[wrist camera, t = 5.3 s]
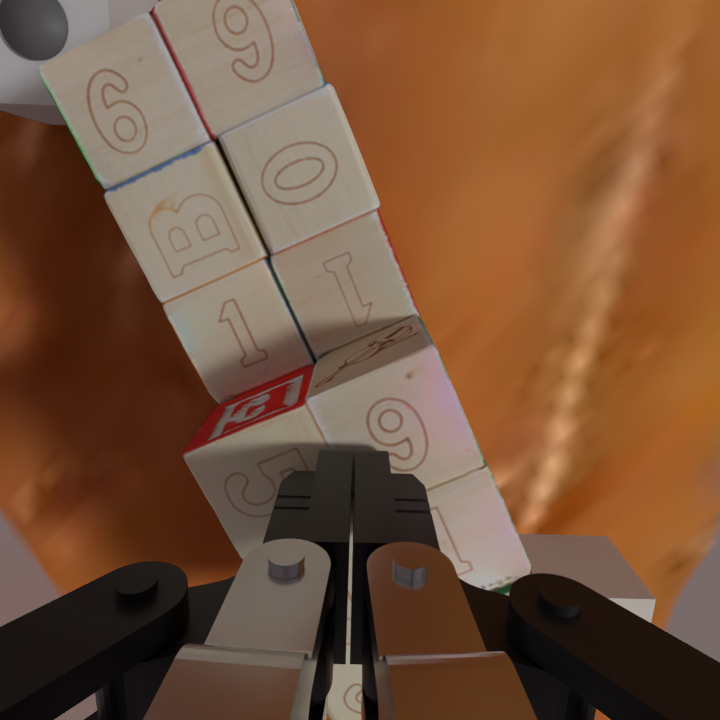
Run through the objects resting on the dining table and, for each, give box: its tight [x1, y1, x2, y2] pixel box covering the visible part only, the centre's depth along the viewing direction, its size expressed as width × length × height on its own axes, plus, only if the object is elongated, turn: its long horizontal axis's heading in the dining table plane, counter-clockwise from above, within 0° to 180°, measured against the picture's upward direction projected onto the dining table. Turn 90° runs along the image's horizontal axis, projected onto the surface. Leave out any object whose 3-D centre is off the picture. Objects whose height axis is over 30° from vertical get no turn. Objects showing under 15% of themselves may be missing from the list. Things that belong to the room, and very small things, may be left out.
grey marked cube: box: [0, 0, 158, 125], centre depth 19 cm, size 4×4×5 cm
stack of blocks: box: [38, 0, 532, 720], centre depth 18 cm, size 21×6×12 cm, turn 23°
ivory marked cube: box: [518, 534, 656, 623], centre depth 24 cm, size 4×4×5 cm
